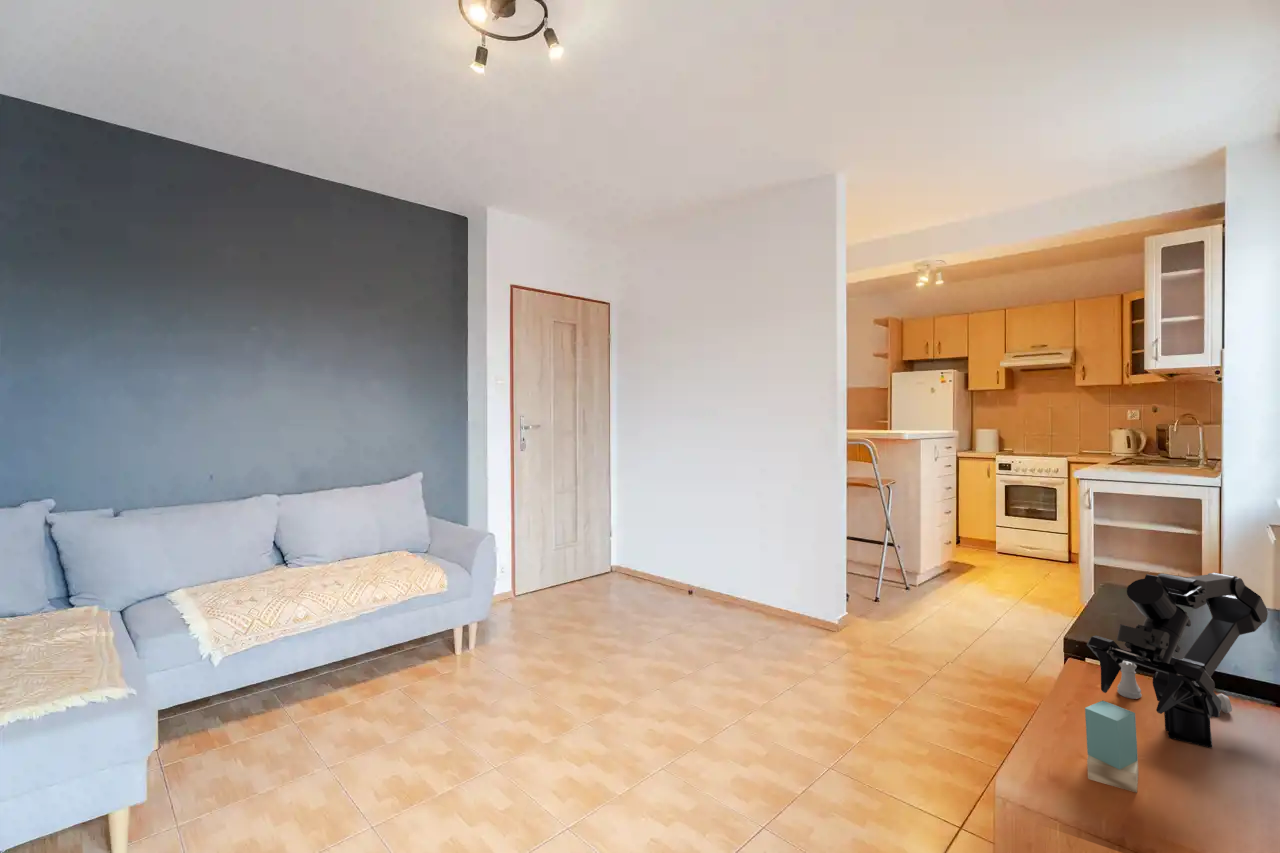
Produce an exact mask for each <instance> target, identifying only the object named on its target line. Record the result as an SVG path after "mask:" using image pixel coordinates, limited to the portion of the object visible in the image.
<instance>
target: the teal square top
mask: <svg viewBox="0 0 1280 853" xmlns="http://www.w3.org/2000/svg"><path fill="white" fill-rule="evenodd" d="M1084 716H1085V733H1086V734H1085V735H1086V750H1087V756H1088V755H1090V756H1092V757H1094V758H1096V759H1098V760H1100V761H1102V762H1105V763H1107V764H1109V765H1111V766H1113V767H1115V768H1117V769H1119V770H1120V769H1122V768H1124V767H1126V766H1128V765H1130V764H1132V763H1134V762H1136V761H1138V757H1139V756H1138V739H1137V722H1136V712H1134V711H1131V710H1129V709H1126V708H1123V707H1121V706H1118V705H1116V704H1113V703H1110V702H1108V701H1105V700H1100V701H1098V702H1096V703H1092V704H1091V705H1089V706H1086V707H1084ZM1138 762H1139V761H1138Z"/></svg>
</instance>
